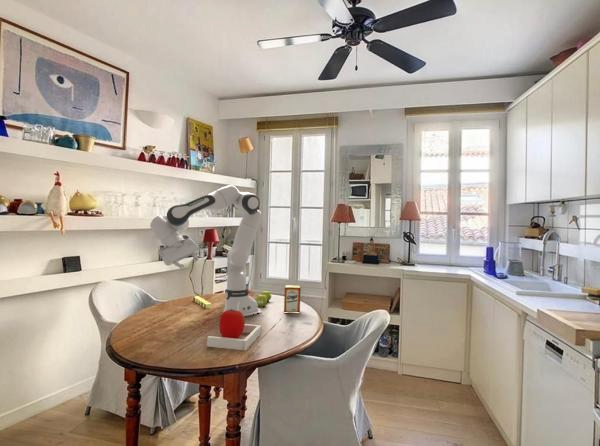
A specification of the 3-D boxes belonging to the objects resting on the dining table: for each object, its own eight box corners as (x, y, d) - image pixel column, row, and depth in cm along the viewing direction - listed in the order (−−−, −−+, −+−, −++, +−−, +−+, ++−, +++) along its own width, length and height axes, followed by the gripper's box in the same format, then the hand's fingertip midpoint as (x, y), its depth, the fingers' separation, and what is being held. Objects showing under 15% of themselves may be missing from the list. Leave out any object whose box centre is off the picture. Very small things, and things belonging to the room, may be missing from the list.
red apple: (216, 336, 155) (217, 306, 155) (239, 333, 160) (240, 304, 160) (222, 346, 144) (223, 313, 144) (247, 342, 149) (248, 311, 149)
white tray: (207, 346, 143) (207, 337, 143) (227, 330, 164) (227, 322, 164) (245, 350, 140) (246, 341, 140) (261, 333, 161) (261, 325, 161)
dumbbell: (266, 307, 211) (266, 296, 211) (254, 306, 212) (254, 295, 212) (271, 301, 228) (272, 291, 228) (260, 300, 229) (261, 290, 229)
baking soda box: (299, 310, 206) (300, 285, 206) (299, 313, 199) (300, 287, 199) (284, 310, 205) (285, 284, 205) (283, 313, 199) (284, 286, 199)
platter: (213, 298, 233) (213, 293, 233) (233, 308, 208) (233, 303, 208) (166, 303, 214) (166, 298, 214) (181, 315, 189) (181, 309, 189)
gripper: (158, 246, 158) (176, 269, 156) (190, 234, 175) (206, 254, 173) (153, 254, 161) (170, 276, 160) (186, 240, 178) (201, 260, 177)
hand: (189, 264), depth 167 cm, fingers open, 8 cm apart
